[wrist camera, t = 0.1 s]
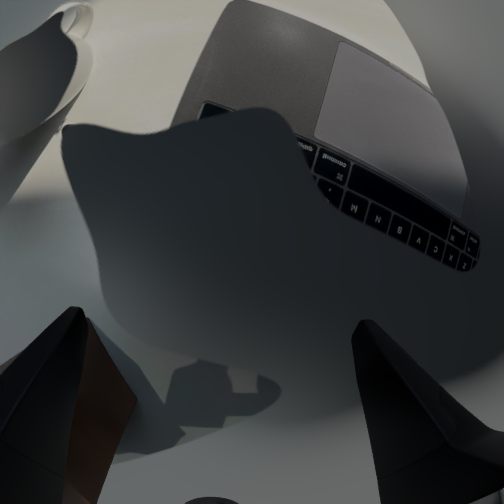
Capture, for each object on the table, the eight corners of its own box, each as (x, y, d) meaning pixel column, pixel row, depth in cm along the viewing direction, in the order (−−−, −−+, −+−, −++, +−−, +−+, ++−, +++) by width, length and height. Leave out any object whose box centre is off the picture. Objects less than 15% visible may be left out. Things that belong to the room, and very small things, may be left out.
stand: (137, 398, 21) (95, 508, 9) (72, 420, 20) (17, 507, 8) (87, 316, 20) (-6, 385, 8) (27, 347, 19) (-61, 409, 7)
